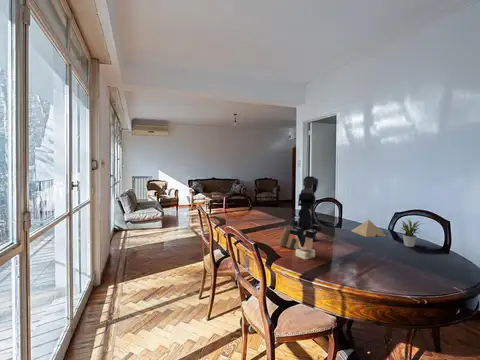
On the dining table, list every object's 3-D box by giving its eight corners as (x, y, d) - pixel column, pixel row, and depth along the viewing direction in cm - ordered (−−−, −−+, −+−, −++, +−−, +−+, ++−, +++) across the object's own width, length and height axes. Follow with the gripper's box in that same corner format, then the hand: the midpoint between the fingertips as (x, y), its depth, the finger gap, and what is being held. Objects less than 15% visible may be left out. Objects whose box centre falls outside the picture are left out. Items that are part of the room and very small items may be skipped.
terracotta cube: (304, 245, 152) (305, 236, 151) (312, 248, 148) (312, 238, 147) (298, 247, 149) (298, 238, 148) (306, 250, 145) (306, 240, 144)
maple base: (305, 253, 153) (305, 247, 153) (315, 257, 147) (315, 251, 147) (295, 256, 150) (295, 249, 149) (304, 260, 144) (304, 253, 143)
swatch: (306, 248, 163) (306, 247, 163) (315, 250, 158) (315, 249, 158) (299, 249, 159) (299, 249, 159) (308, 252, 154) (308, 251, 154)
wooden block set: (302, 254, 158) (308, 237, 159) (290, 250, 154) (297, 233, 155) (282, 245, 174) (288, 229, 175) (272, 241, 170) (278, 225, 171)
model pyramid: (366, 237, 189) (366, 222, 188) (350, 231, 205) (350, 217, 205) (387, 236, 192) (388, 221, 192) (370, 230, 209) (371, 217, 208)
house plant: (428, 245, 170) (429, 218, 169) (423, 250, 160) (424, 222, 159) (401, 241, 180) (402, 215, 178) (395, 245, 169) (396, 218, 168)
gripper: (305, 212, 159) (304, 239, 160) (282, 215, 148) (281, 245, 149) (322, 215, 150) (321, 244, 151) (298, 219, 139) (298, 250, 140)
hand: (305, 245), depth 148 cm, fingers closed on terracotta cube, 5 cm apart
